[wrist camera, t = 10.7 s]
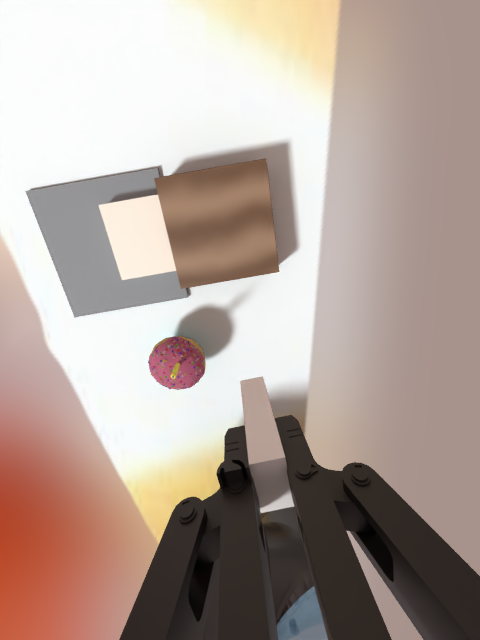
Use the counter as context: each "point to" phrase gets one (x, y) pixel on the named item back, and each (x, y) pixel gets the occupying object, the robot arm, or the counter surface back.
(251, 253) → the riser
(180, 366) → the cupcake
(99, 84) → the counter surface
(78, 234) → the mat
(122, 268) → the cream rectangular block
